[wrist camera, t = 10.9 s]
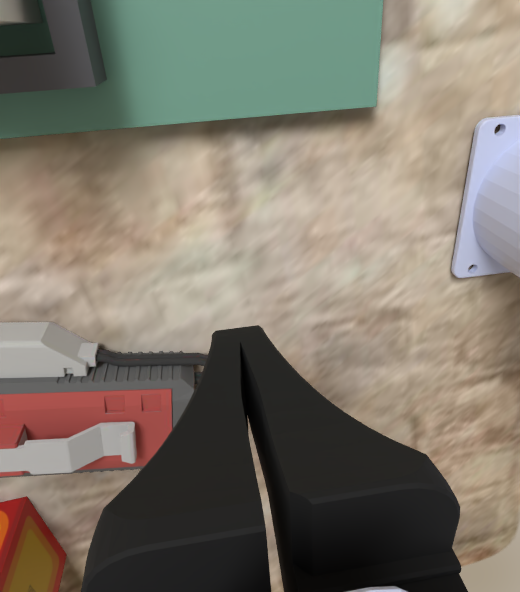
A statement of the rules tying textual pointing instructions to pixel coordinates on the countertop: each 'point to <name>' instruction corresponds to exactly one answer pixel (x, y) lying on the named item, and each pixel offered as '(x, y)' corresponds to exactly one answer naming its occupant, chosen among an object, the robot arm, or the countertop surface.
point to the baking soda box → (28, 550)
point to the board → (184, 62)
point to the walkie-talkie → (85, 401)
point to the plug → (19, 12)
